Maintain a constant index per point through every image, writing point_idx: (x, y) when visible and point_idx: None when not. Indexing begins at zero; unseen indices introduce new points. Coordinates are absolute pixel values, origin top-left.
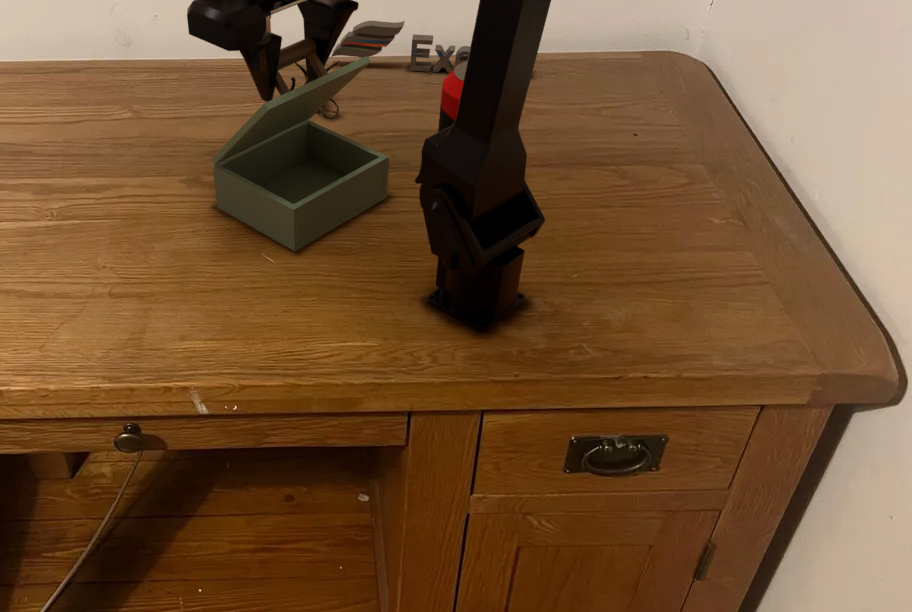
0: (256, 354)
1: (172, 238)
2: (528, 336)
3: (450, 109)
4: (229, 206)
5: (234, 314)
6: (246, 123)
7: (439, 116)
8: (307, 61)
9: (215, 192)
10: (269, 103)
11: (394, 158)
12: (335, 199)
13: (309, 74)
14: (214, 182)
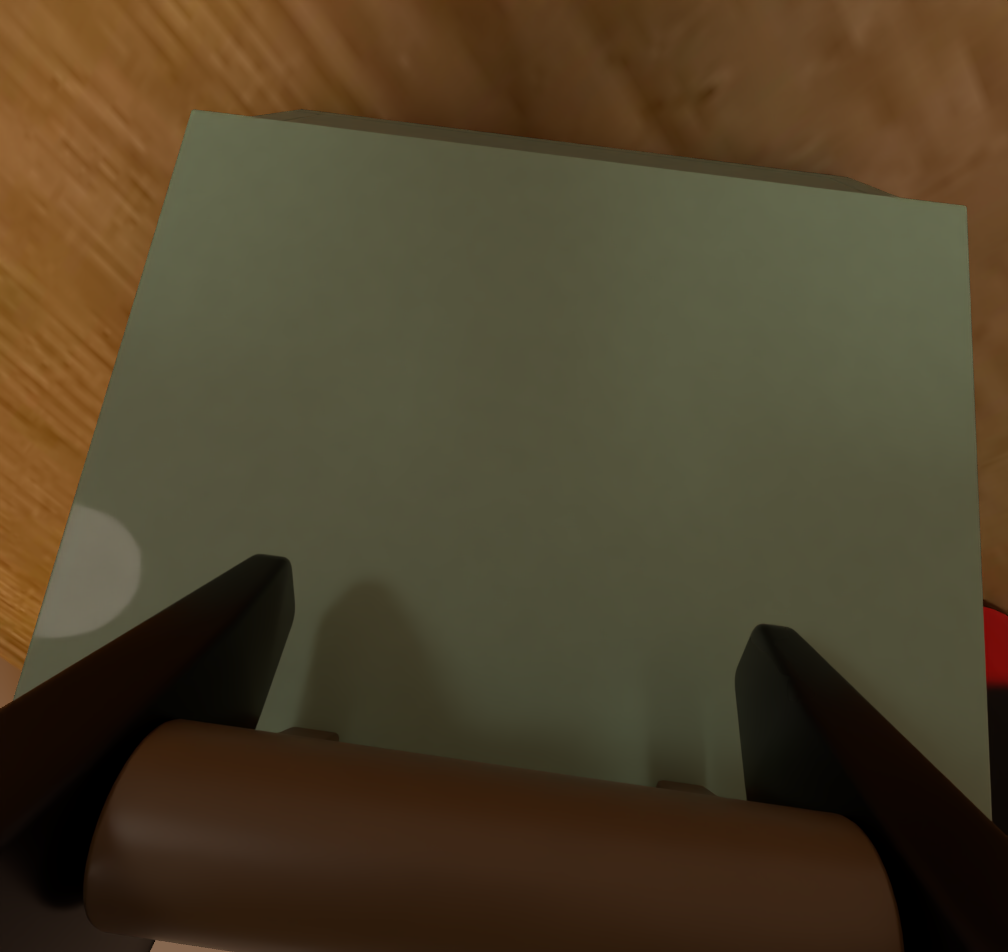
0: (24, 618)
1: (47, 122)
2: None
3: None
4: None
5: (44, 520)
6: (54, 580)
7: (1004, 798)
8: (797, 732)
9: (274, 113)
10: None
11: (990, 451)
12: None
13: (759, 659)
14: (252, 116)
